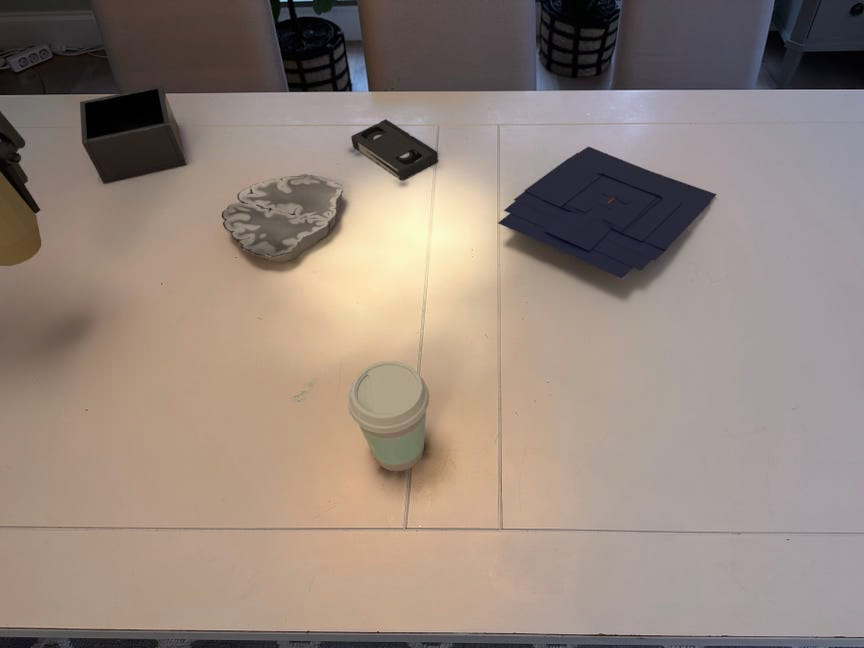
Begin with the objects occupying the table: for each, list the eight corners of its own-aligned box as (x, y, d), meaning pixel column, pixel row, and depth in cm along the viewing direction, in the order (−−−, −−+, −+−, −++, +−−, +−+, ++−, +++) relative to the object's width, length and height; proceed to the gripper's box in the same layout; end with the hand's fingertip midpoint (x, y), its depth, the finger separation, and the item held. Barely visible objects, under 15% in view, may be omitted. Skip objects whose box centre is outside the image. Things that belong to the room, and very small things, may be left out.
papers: (485, 234, 101) (487, 213, 99) (584, 160, 119) (587, 140, 117) (630, 300, 92) (635, 279, 89) (713, 209, 110) (720, 189, 107)
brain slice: (269, 180, 113) (264, 165, 111) (360, 200, 109) (358, 184, 107) (201, 254, 101) (195, 239, 99) (301, 279, 97) (296, 264, 95)
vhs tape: (351, 146, 119) (350, 136, 117) (387, 129, 122) (385, 119, 121) (402, 181, 112) (400, 171, 111) (438, 161, 116) (437, 151, 114)
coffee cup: (382, 411, 82) (368, 347, 73) (446, 432, 80) (440, 369, 71) (349, 468, 77) (329, 407, 68) (416, 492, 75) (406, 433, 66)
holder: (103, 183, 113) (81, 142, 107) (100, 142, 121) (79, 101, 115) (186, 165, 116) (169, 124, 110) (177, 125, 124) (161, 85, 118)
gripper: (-221, 101, 55) (-50, 297, 73) (-14, -2, 67) (89, 188, 85) (-280, 83, 57) (-99, 278, 75) (-69, -14, 69) (44, 174, 87)
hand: (1, 230), depth 80 cm, fingers closed on squeeze bottle, 8 cm apart
